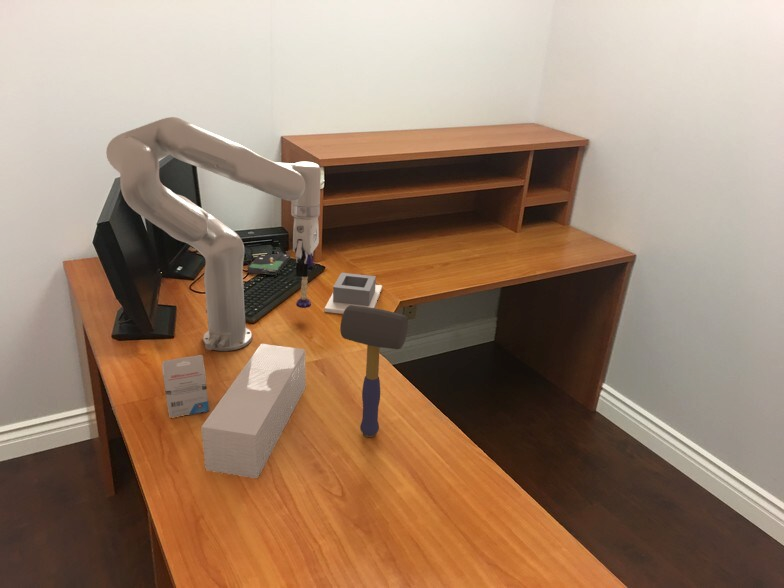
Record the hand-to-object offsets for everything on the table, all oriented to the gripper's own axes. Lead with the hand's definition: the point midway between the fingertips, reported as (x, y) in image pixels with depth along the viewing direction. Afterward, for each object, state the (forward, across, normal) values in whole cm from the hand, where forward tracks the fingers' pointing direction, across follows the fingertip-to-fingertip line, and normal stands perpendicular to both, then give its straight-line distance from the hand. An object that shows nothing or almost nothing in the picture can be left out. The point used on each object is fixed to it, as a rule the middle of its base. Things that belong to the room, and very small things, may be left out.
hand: (304, 271), depth 173 cm
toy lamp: (+11, 0, 0) cm, 11 cm away
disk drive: (+15, +34, +21) cm, 43 cm away
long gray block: (+16, -49, -4) cm, 52 cm away
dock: (+14, +16, -12) cm, 24 cm away
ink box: (+16, -47, +13) cm, 52 cm away
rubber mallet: (+15, -47, -28) cm, 57 cm away
